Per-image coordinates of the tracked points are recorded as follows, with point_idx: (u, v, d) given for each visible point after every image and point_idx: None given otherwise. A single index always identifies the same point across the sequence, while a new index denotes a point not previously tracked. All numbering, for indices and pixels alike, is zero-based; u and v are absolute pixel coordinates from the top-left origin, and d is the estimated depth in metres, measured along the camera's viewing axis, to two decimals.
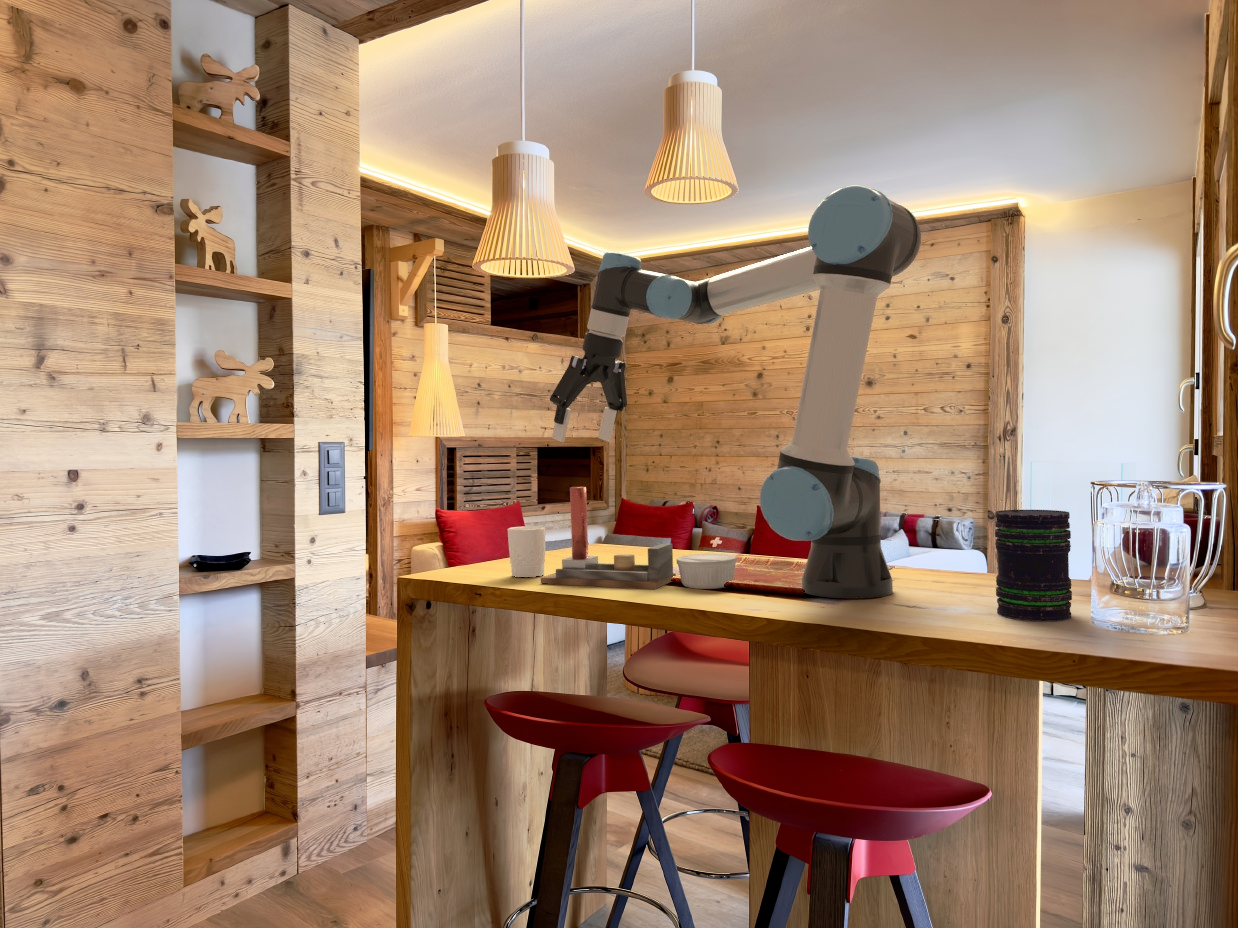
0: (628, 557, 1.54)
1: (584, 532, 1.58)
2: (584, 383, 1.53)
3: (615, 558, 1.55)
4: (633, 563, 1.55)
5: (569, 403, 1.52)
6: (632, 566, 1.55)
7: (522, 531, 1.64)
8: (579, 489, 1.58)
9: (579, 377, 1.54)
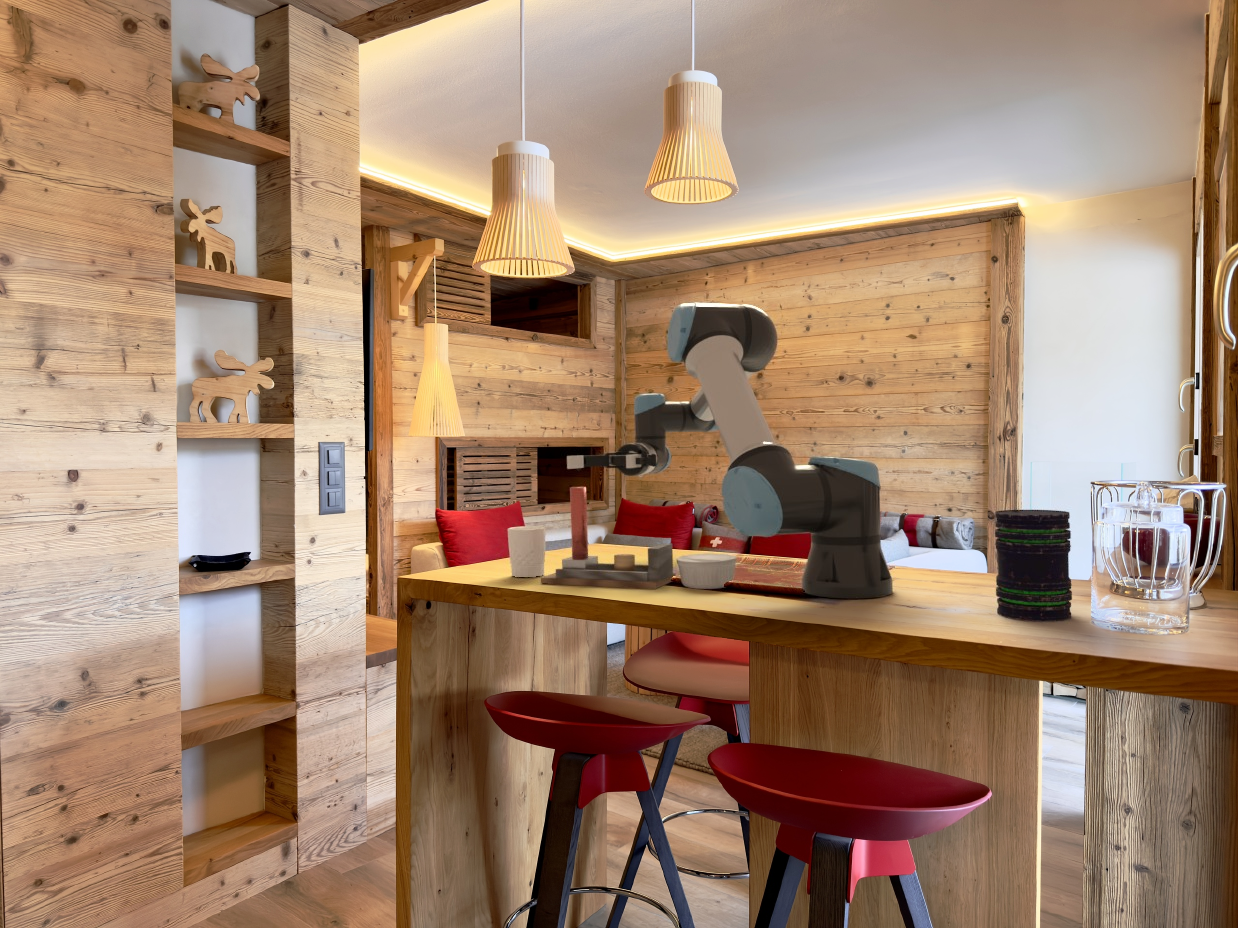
0: (628, 557, 1.54)
1: (584, 532, 1.58)
2: (602, 455, 1.81)
3: (615, 558, 1.55)
4: (633, 563, 1.55)
5: (582, 455, 1.78)
6: (632, 566, 1.55)
7: (522, 531, 1.64)
8: (579, 489, 1.58)
9: None
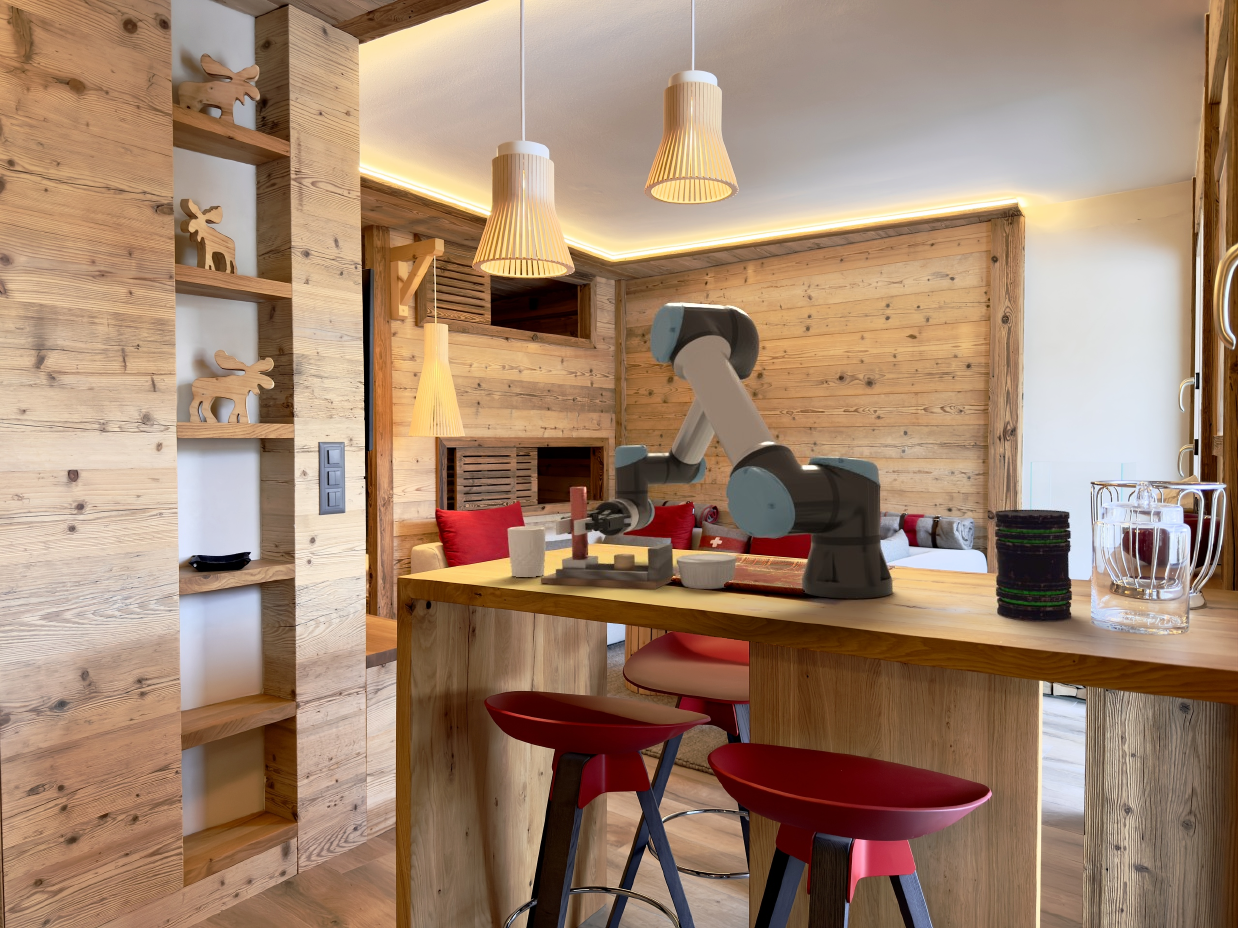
0: (627, 557, 1.54)
1: None
2: None
3: (614, 558, 1.55)
4: (632, 563, 1.55)
5: None
6: (631, 566, 1.54)
7: (522, 531, 1.64)
8: (579, 489, 1.58)
9: None
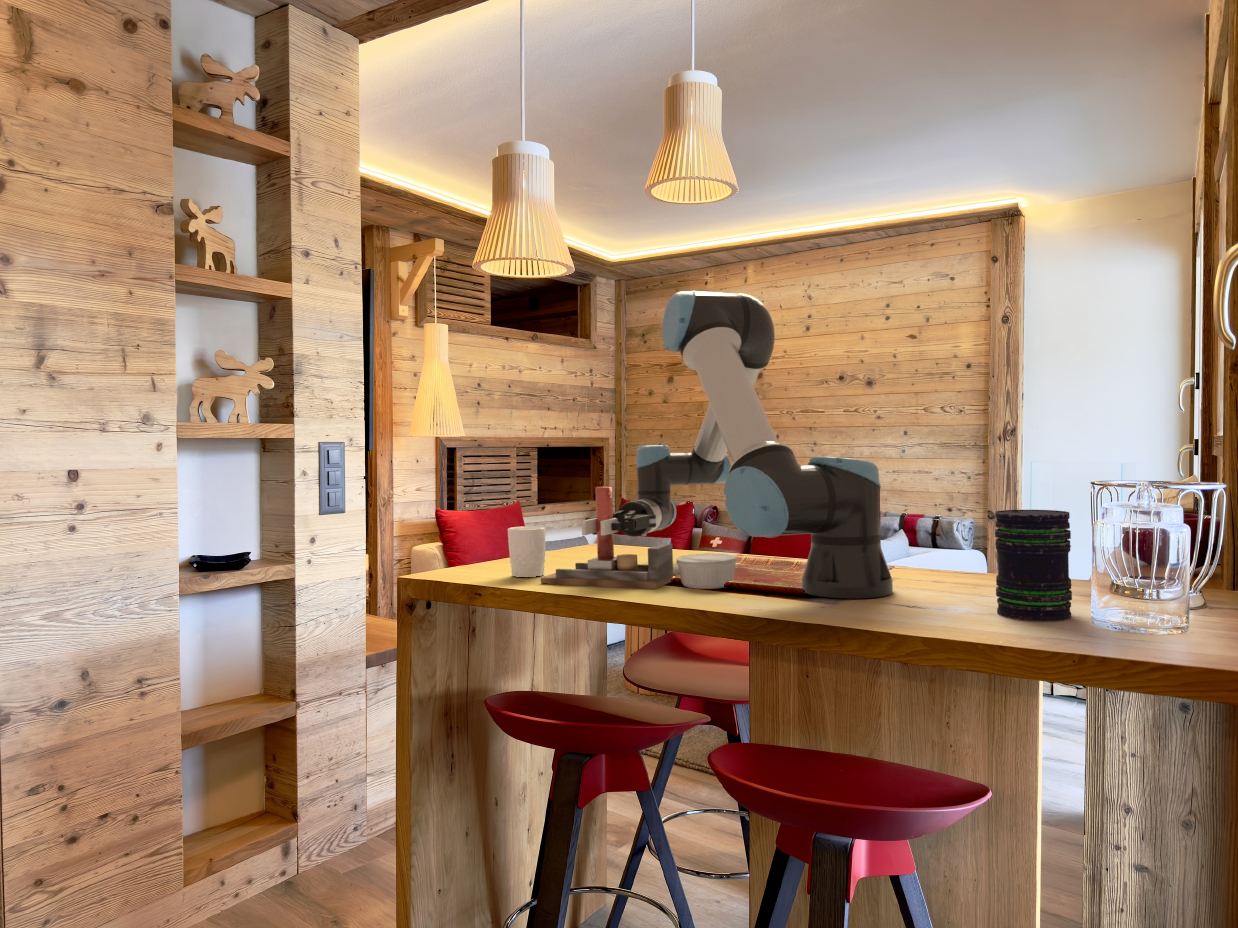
0: (629, 557, 1.54)
1: None
2: None
3: (617, 558, 1.55)
4: (635, 563, 1.54)
5: None
6: (634, 566, 1.54)
7: (522, 531, 1.64)
8: (605, 489, 1.56)
9: None
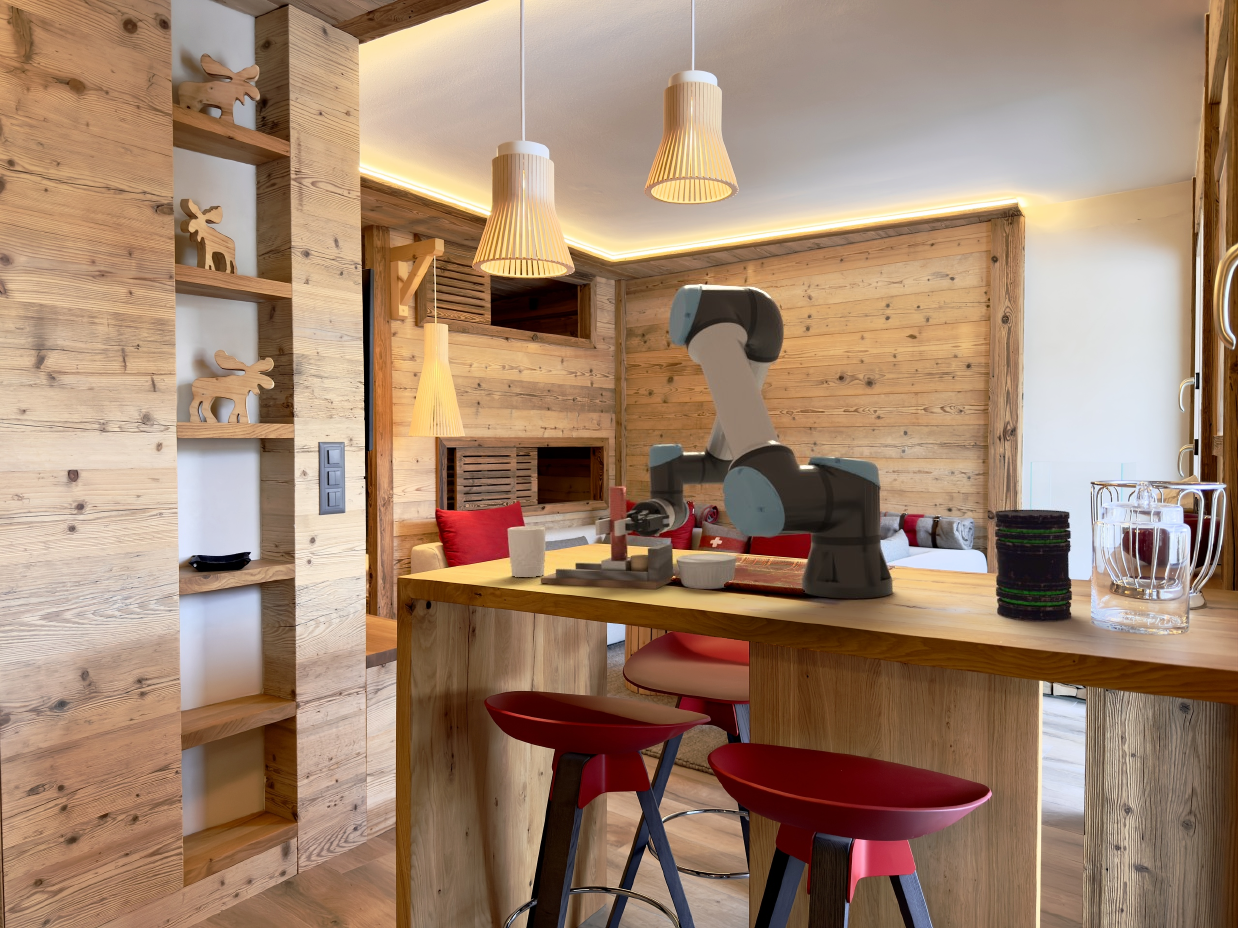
0: (643, 558, 1.53)
1: None
2: None
3: (631, 558, 1.54)
4: None
5: None
6: None
7: (522, 531, 1.64)
8: (619, 489, 1.54)
9: None
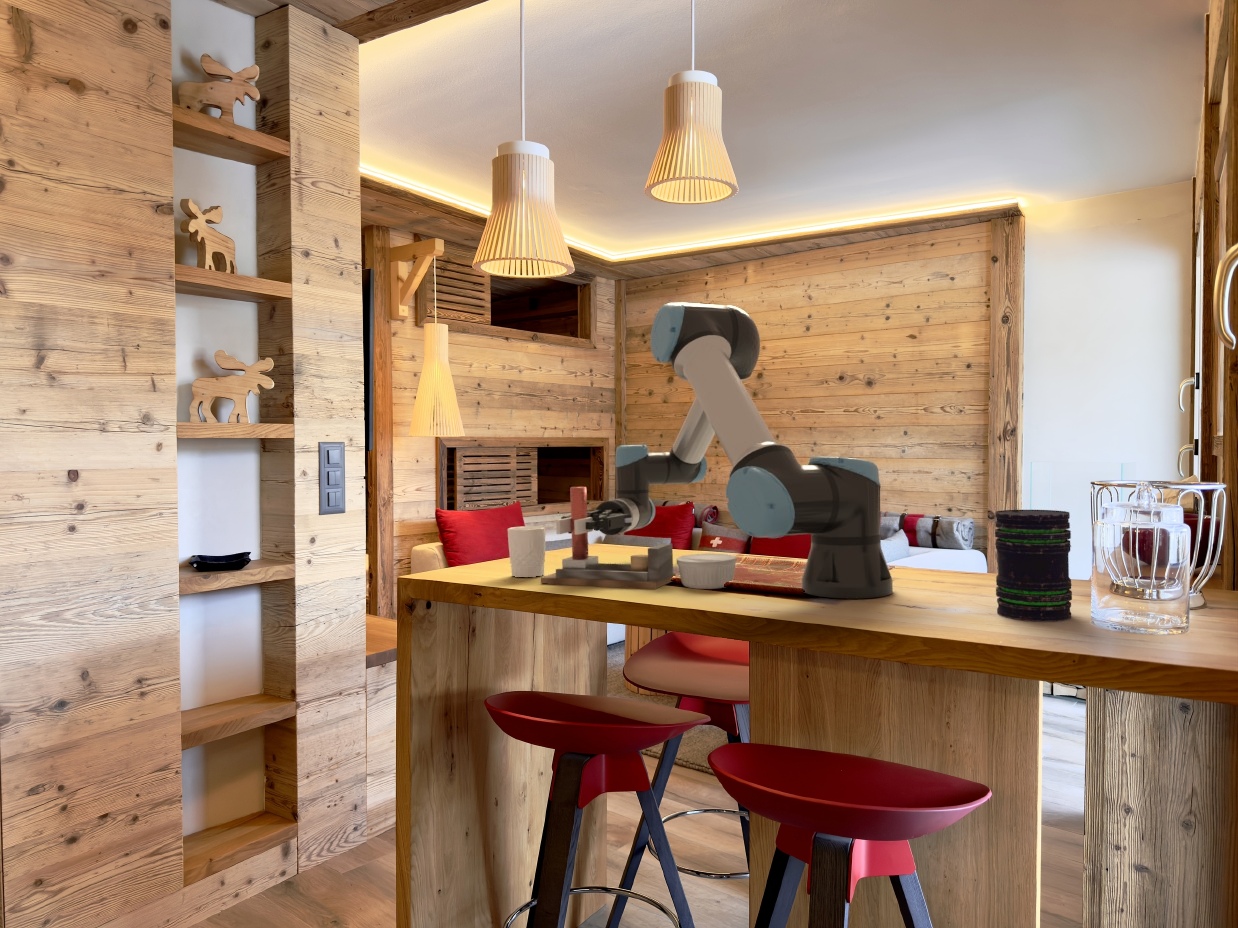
0: (643, 558, 1.53)
1: None
2: None
3: (631, 558, 1.54)
4: None
5: None
6: None
7: (522, 531, 1.64)
8: (579, 489, 1.58)
9: None
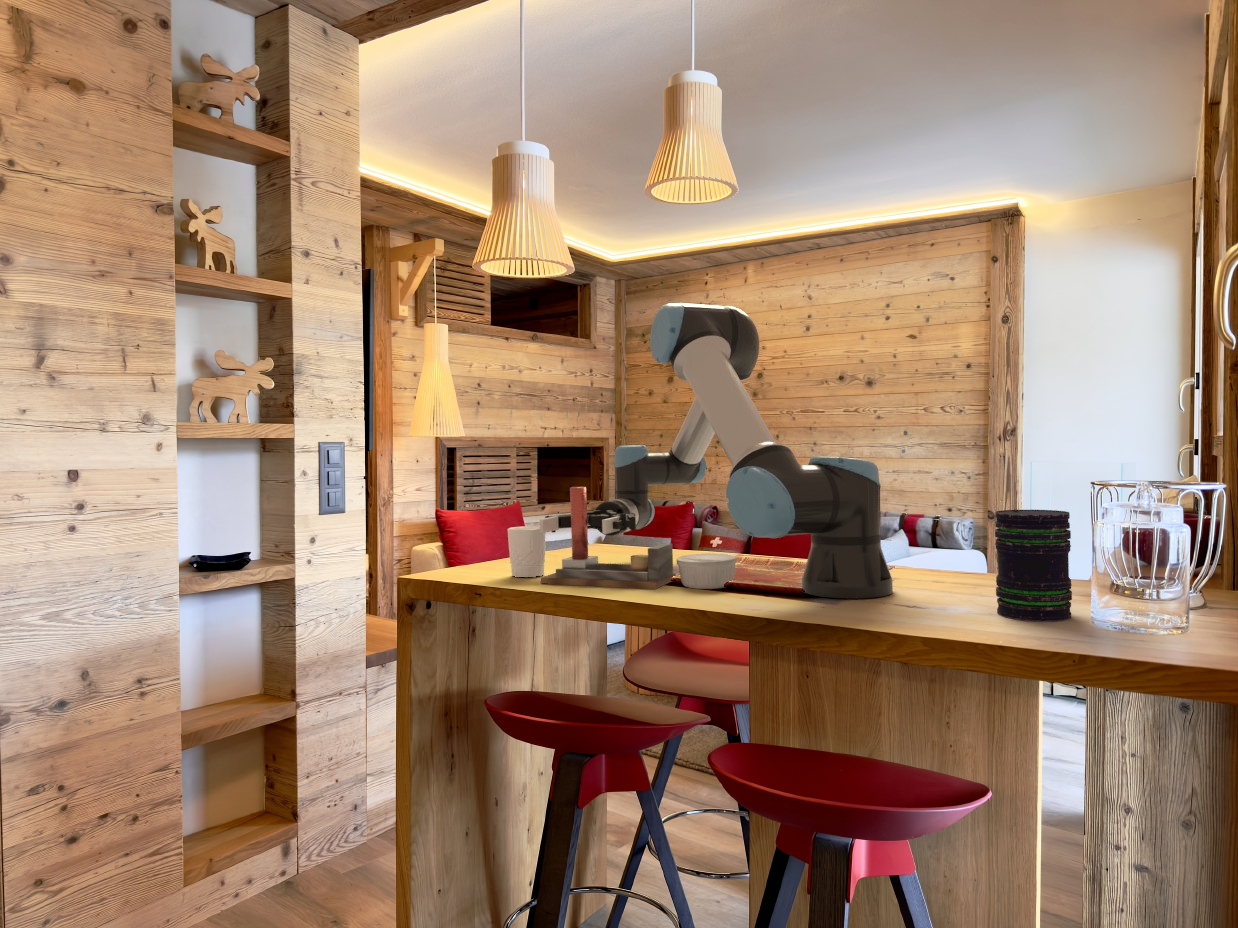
0: (643, 558, 1.53)
1: (584, 532, 1.58)
2: None
3: (631, 558, 1.54)
4: None
5: (557, 516, 1.66)
6: None
7: (522, 531, 1.64)
8: (579, 489, 1.58)
9: None
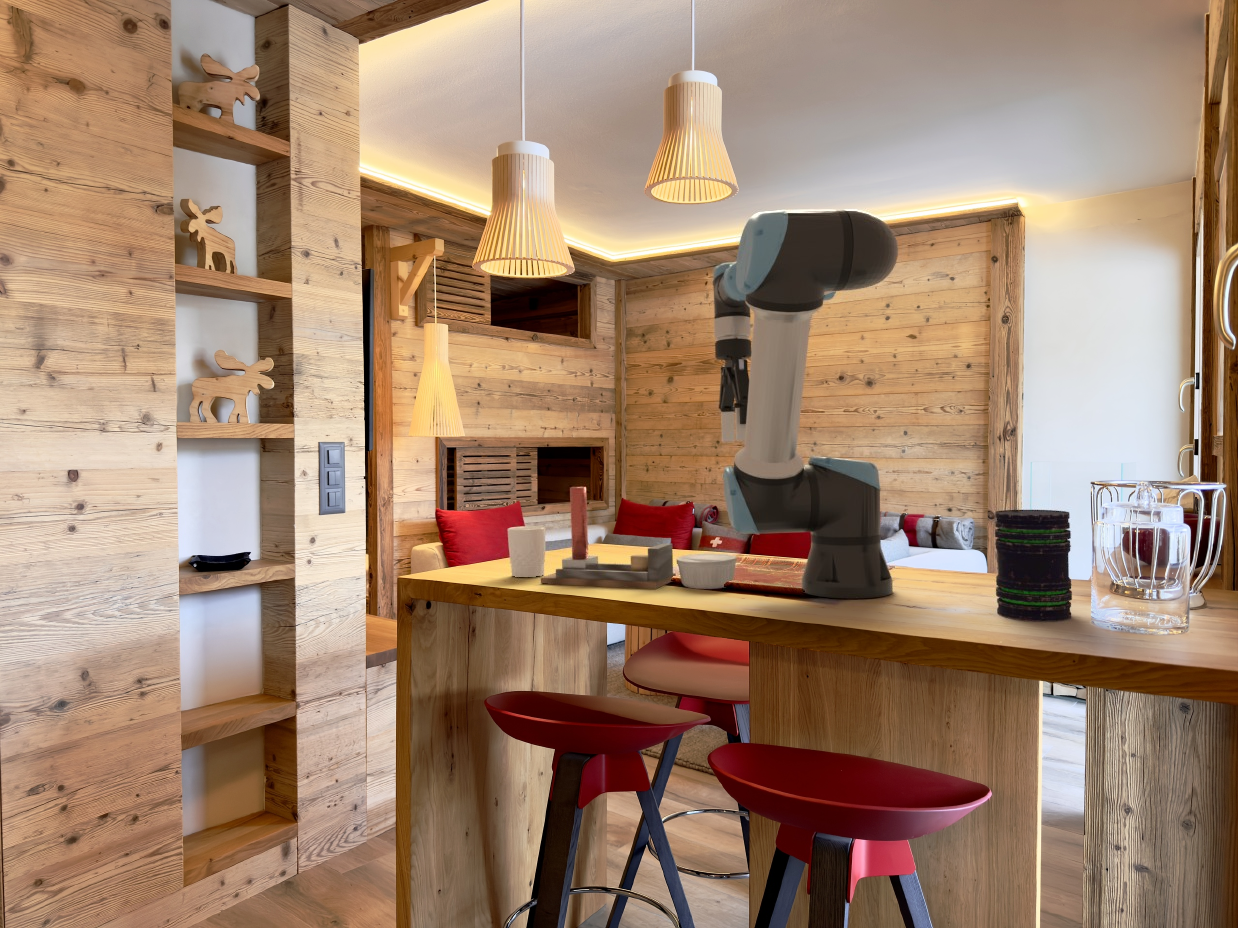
0: (643, 558, 1.53)
1: (584, 532, 1.58)
2: (724, 387, 1.72)
3: (631, 558, 1.54)
4: None
5: (721, 407, 1.75)
6: None
7: (522, 531, 1.64)
8: (579, 489, 1.58)
9: None
